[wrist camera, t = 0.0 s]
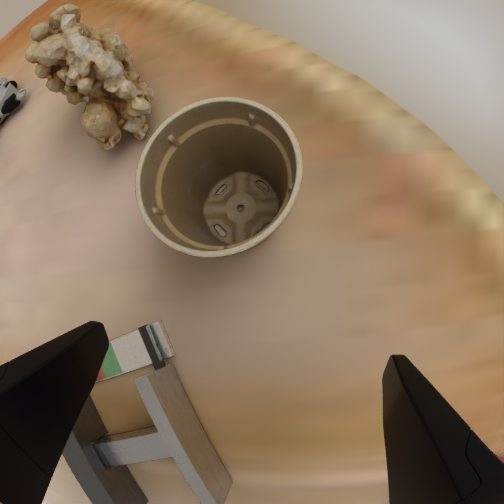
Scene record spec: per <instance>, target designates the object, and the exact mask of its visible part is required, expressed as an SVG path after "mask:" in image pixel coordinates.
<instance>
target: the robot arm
mask: <svg viewBox="0 0 504 504" xmlns="http://www.w3.org/2000/svg"><path fill="white" fill-rule="evenodd" d="M108 348H109V340H108V337H107V334H106V331H105V328H104V325H103V324H102V323H101V322H97V321H89V322H87V323H85V324H83V325H81V326H79V327H77V328H75V329H73V330H71V331H69V332H67V333H65V334H63V335H61V336H59V337H57V338H55V339H53V340H51V341H49V342H47V343H45V344H43V345H41V346H39V347H37V348H35V349H33V350H31V351H29V352H27V353H25V354H23V355H21V356H19V357H17V358H15V359H13V360H11V361H10V362H7V363H5V364H3V365H1V366H0V504H42V501H43V499H44V496H45V494H46V491H47V488H48V486H49V483H50V481H51V478H52V476H53V473H54V471H55V469H56V466H57V464H58V461H59V459H60V457H61V455H62V452H63V450H64V448H65V445H66V443H67V441H68V439H69V437H70V434H71V432H72V430H73V428H74V426H75V423H76V421H77V419H78V417H79V415H80V413H81V411H82V409H83V407H84V405H85V403H86V400H87V398H88V396H89V394H90V392H91V390H92V388H93V386H94V384H95V382H96V379H97V377H98V374H99V371H100V369H101V366H102V363H103V361H104V358H105V356H106V353H107V351H108ZM382 386H383V429H384V439H385V448H386V459H387V470H388V484H389V502H390V504H504V463H503V462H502V461H501V460H500V459H499V458H498V457H497V456H496V455H495V454H494V453H493V452H492V451H491V450H490V449H489V448H488V447H487V446H486V445H485V444H484V443H483V442H482V440H481V439H480V438H479V437H478V436H477V435H476V434H475V433H474V431H473V430H471V428H470V427H469V426H468V425H467V423H466V422H465V421H464V420H463V419H462V418H461V417H460V415H459V414H458V413H457V412H456V411H455V410H454V409H453V408H452V406H451V405H450V404H449V403H448V402H447V401H446V400H445V399H444V398H443V396H442V395H441V394H440V393H439V392H438V391H437V390H436V389H435V388H434V386H433V385H432V384H431V383H430V382H429V381H428V380H427V379H426V378H425V377H424V376H423V374H422V373H421V372H420V371H419V370H418V369H417V368H416V367H415V366H414V365H413V364H412V363H411V361H410V360H409V359H408V358H407V357H406V356H405V355H391V356H390V358H389V360H388V363H387V365H386V368H385V371H384V373H383V379H382Z"/></svg>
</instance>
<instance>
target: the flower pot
mask: <svg viewBox="0 0 504 504" xmlns="http://www.w3.org/2000/svg"><path fill="white" fill-rule="evenodd" d="M302 173H303V163H302V155H301V150H300V147H299V144H298V141H297V139H296V137H295V135H294V133H293V132H292V130H291V128H290V127H289V126H288V124H287V123H286V122H285V121H284V120H283V119H282V118H281V117H280V116H279V115H278V114H277V113H275V112H273V111H272V110H271V109H269V108H267V107H266V106H263V105H261V104H259V103H257V102H254V101H251V100H248V99H243V98H237V97H216V98H210V99H206V100H201V101H198V102H196V103H193V104H190V105H188V106H186V107H184V108H182V109H181V110H179V111H177V112H176V113H174V114H173V115H172V116H170V117H169V118H167V119H166V121H164V122H163V123H162V124H161V125H160V126H159V127H158V129H157V130H156V131H155V132H154V134H153V135H152V136H151V138H150V139H149V141H148V142H147V144H146V146H145V148H144V150H143V152H142V154H141V157H140V159H139V163H138V167H137V172H136V178H135V193H136V200H137V204H138V208H139V211H140V214H141V215H142V218H143V219H144V221H145V223H146V225H147V226H148V228H149V229H150V230H151V232H152V233H153V234H154V235H155V236H156V237H157V238H158V239H159V240H161V241H162V242H163V243H164V244H166V245H167V246H169V247H171V248H172V249H174V250H177V251H179V252H181V253H184V254H187V255H191V256H197V257H205V258H214V257H224V256H229V255H232V254H236V253H239V252H242V251H244V250H247V249H249V248H251V247H253V246H255V245H257V244H259V243H261V242H262V241H264V240H265V239H266V238H268V237H269V236H270V235H271V234H272V233H273V232H274V231H275V230H276V229H277V228H278V227H279V226H280V225H281V224H282V223H283V221H284V220H285V219H286V217H287V216H288V214H289V213H290V211H291V209H292V208H293V206H294V204H295V202H296V199H297V197H298V194H299V191H300V187H301V182H302ZM257 181H261V182H264V183H265V184H266V185H267V186H268V187H269V191H268V192H266V191H265V190H264V189H263V188H262V187H261V186H260V185H258V184H257V183H256V182H257ZM223 185H227V187H225V189H224V190H223V192H220V193H219V194H216V192H217V191H218V190H219V189H220V187H221V186H223ZM239 205H243V209H242V210H239V209H238V206H239ZM265 223H269V225H268V226H267V227H266V228H264V229H263V230H262V231H261V232H259V233H258V234H257V231H258V230H260V229H261V228H262V227H263V226H264V225H265ZM216 224H219V225H220V226H221V227H222V228H223V230H224V231H225V232H227V234H226V236H224V237H223V236H220V234H219V233H218V232H217V230H216V229H215V227H214V225H216Z"/></svg>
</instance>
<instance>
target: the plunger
mask: <svg viewBox="0 0 504 504" xmlns="http://www.w3.org/2000/svg"><path fill="white" fill-rule="evenodd" d="M138 329H139V332H140V335H141V337H142V340H143V342H144V344H145V347H146V349H147V352H148V354H149V356H150V359H151V361H152V363H153V366H154V368H155V370H153V371H151V372H149V373H147V374H145V375H143V376H141V377H139V378H137V379H135V380H134V383H135V385H136V387H137V389H138V391H139V394H140V396H141V398H142V400H143V402H144V404H145V406H146V408H147V410H148V412H149V414H150V416H151V418H152V420H153V422H154V424H155V426H153V427H149V428H145V429H140V430H136V431H131V432H126V433H121V434H116V435H111V436H106V437H103V438H101V439H100V440H98V441H97V442H95V443H94V444H92V446H93V448H94V450H95V452H96V454H97V456H98V457H99V459H100V461H101V463H102V464H103V466H104V467H107V466H116V465H125V464H132V463H139V462H146V461H152V460H158V459H163V458H169V457H172V458H173V459H174V461H175V463H176V464H177V466H178V468H179V470H180V471H181V473H182V475H183V476H184V478H185V479H186V481H187V483H188V484H189V486H190V487H191V489H192V491H193V492H194V494H195V495H196V497H197V498H198V500H199V501H200V503H201V504H224V503H225V500H226V498H227V495H228V493H229V490H230V487H231V485H232V480H231V478H230V477H229V475H228V473H227V471H226V470H225V468H224V466H223V464H222V463H221V461H220V459H219V457H218V456H217V454H216V452H215V450H214V448H213V447H212V445H211V443H210V441H209V439H208V437H207V435H206V434H205V432H204V430H203V428H202V426H201V424H200V422H199V420H198V418H197V416H196V414H195V412H194V410H193V408H192V406H191V404H190V402H189V400H188V398H187V396H186V394H185V391H184V389H183V387H182V385H181V383H180V381H179V379H178V376H177V374H176V372H175V370H174V367H173V365H172V363H170V364H167V365H165V363H164V361H163V359H162V356H161V354H160V352H159V349H158V347H157V345H156V342H155V340H154V337H153V335H152V332H151V330H150V327H149V325H145V326H142V327H140V328H138Z"/></svg>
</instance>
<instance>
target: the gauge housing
mask: <svg viewBox="0 0 504 504" xmlns="http://www.w3.org/2000/svg"><path fill="white" fill-rule="evenodd" d="M149 327H150V330H151V332H152V335H153V337H154V340H155V342H156V345H157V347H158V349H159V352H160V354H161V356H162V359H166V358H169V357H171V356H174V355H175V352H174V350H173V348H172V345H171V343H170V341H169V338H168V336H167V333H166V331H165V328H164V326H163V324H162V321H157V322H155V323H152V324H150V325H149ZM149 364H152V361H151V359H150V356H149V354H148V352H147V349H146V347H145V344H144V342H143V340H142V337H141V335H140V332H139V329H138V330H136V331H133V332H131V333H128V334H126V335H124V336H121V337H119V338H116V339H114V340H111V341H109V348H108V351H107V353H106V356H105V358H104V361H103V363H102V366H101V369H100V371H99V374H98V377H97V379H96V382H99V381H102V380H106V379H109V378H112V377H115V376H118V375H121V374H124V373H126V372H129V371H132V370H135V369H138V368H141V367H144V366H147V365H149ZM96 382H95V383H96ZM106 433H108V432H107V430H106V428H105V426H104V424H103V422H102V420H101V418H100V416H99V414H98V412H97V410H96V407H95V405H94V403H93V401H92V399H91V396H90V394H89V396H88V398H87V400H86V403H85V405H84V407H83V409H82V411H81V413H80V415H79V417H78V419H77V421H76V423H75V426H74V428H73V430H72V432H71V434H70V437H69V439H68V441H67V443H66V445H65V448H64V450H63V452H62V454H63V456H64V458H65V460H66V461H67V463H68V465H69V467H70V468H71V470H72V472H73V474H74V475H75V477H76V479H77V480H78V482H79V483H80V485H81V487H82V488H83V490H84V491H85V493H86V494H87V496H88V497H89V499H90V500H91V502H92V503H93V504H147V502H148V500H147V498H146V497H145V495H144V494H143V492H142V491H141V489H140V488H139V486H138V484H137V483H136V481H135V480H134V478H133V476H132V475H131V473H130V471H129V470H128V468H127V466H126V465H116V466H107V467H104V466H103V464H102V463H101V461H100V459H99V457H98V456H97V454H96V452H95V450H94V448H93V447H92V445H91V443H92V442H94V441H95V440H97V439H98V438H100V437H102V436H103V435H105V434H106Z"/></svg>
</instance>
